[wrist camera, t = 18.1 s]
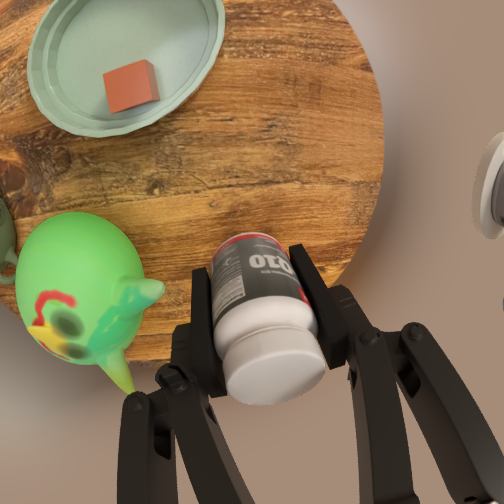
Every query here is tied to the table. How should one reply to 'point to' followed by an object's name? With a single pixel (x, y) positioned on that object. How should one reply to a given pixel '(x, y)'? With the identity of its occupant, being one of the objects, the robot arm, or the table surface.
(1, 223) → the mug
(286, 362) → the pill bottle
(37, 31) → the bowl
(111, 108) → the block
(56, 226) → the toy bird
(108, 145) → the table surface
